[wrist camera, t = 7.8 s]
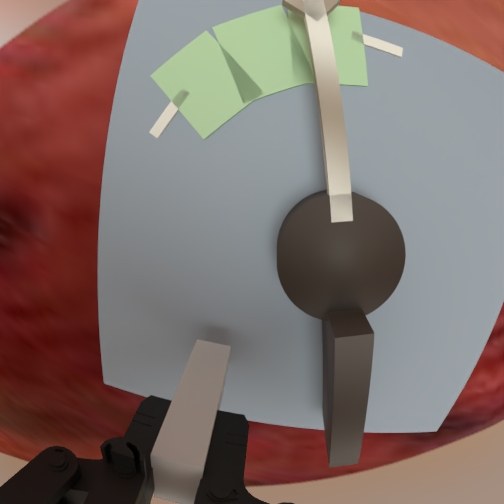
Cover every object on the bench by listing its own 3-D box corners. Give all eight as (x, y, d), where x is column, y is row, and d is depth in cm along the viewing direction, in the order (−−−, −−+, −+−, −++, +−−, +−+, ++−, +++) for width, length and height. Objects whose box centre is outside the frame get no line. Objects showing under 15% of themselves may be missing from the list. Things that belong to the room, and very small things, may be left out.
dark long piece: (247, 2, 11) (236, -46, 7) (358, -2, 10) (381, -46, 7) (290, 416, 16) (290, 470, 13) (377, 406, 16) (393, 457, 12)
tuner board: (113, 370, 19) (102, 385, 17) (152, 1, 13) (140, -12, 11) (429, 417, 18) (437, 433, 17) (527, 98, 12) (544, 96, 10)
